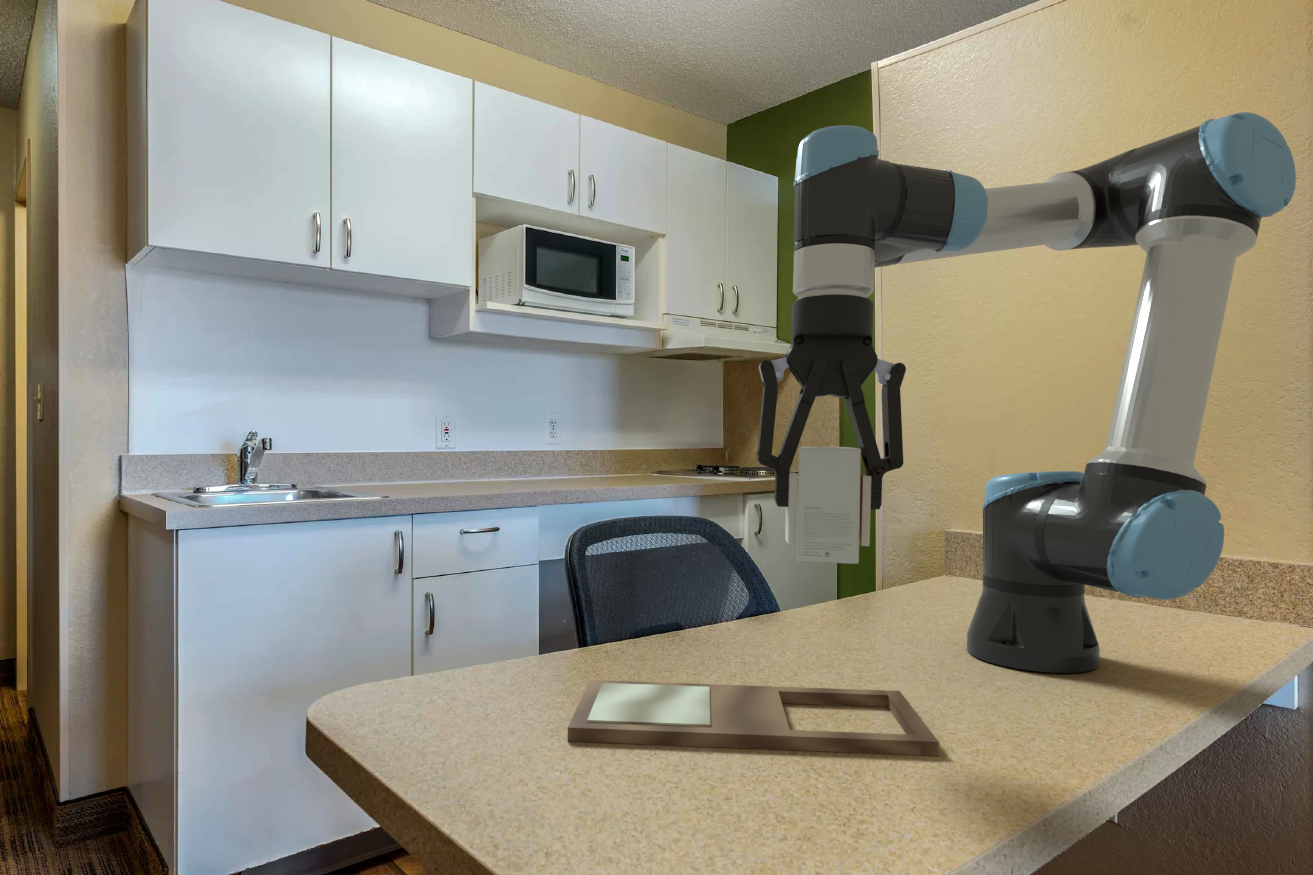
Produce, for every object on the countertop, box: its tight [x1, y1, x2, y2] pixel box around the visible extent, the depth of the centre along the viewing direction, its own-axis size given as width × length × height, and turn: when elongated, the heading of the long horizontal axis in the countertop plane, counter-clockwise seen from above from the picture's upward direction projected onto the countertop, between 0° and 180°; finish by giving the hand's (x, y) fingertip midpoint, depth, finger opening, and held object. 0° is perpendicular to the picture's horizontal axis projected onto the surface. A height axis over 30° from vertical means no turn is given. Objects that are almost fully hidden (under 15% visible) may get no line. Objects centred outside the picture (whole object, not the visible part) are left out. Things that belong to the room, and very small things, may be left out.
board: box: [567, 679, 940, 757], centre depth 78 cm, size 32×14×1 cm, turn 87°
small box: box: [796, 446, 862, 565], centre depth 77 cm, size 8×6×10 cm
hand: (826, 542), depth 77 cm, fingers closed on small box, 6 cm apart
